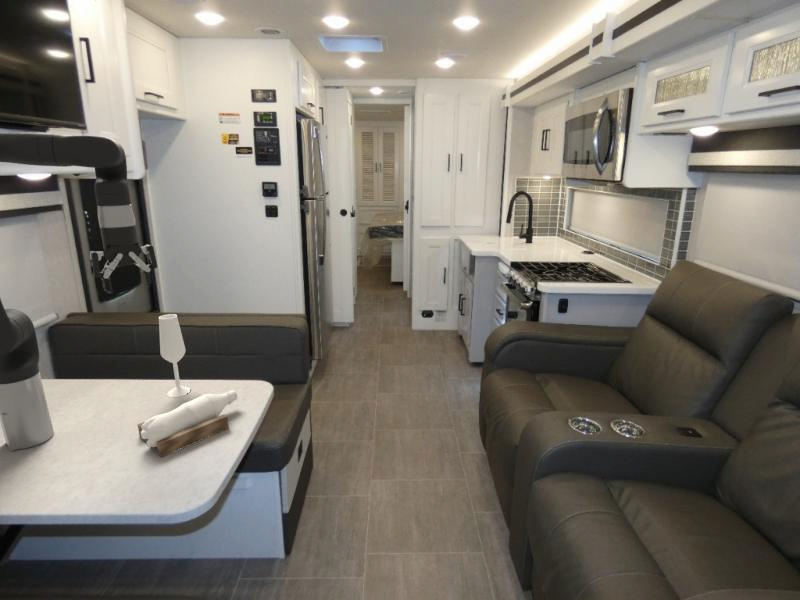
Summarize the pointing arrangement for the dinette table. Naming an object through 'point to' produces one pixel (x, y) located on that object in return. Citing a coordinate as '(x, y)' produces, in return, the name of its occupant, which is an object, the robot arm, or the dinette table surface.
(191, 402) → the water bottle
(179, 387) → the champagne flute
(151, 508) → the dinette table surface
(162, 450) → the walnut cradle
